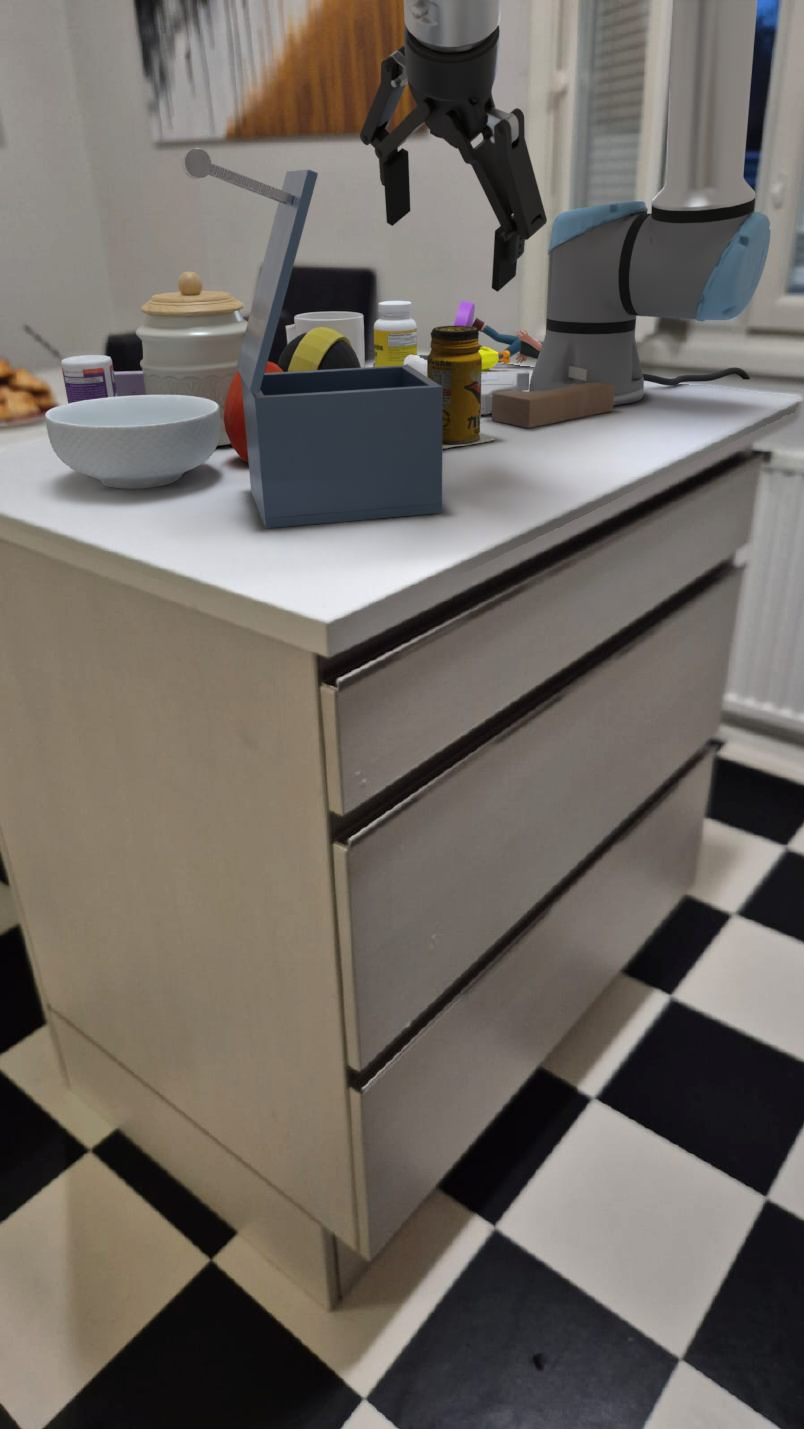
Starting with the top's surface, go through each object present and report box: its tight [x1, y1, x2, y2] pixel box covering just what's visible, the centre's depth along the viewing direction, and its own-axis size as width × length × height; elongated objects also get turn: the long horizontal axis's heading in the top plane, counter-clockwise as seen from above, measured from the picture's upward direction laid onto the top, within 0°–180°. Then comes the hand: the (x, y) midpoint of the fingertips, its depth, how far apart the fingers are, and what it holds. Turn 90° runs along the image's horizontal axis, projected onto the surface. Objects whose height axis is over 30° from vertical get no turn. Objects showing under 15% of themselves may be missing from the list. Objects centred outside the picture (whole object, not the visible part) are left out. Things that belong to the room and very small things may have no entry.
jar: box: [135, 271, 248, 447], centre depth 112 cm, size 13×13×18 cm
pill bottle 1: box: [60, 354, 118, 404], centre depth 110 cm, size 5×5×10 cm
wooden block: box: [491, 382, 615, 429], centre depth 123 cm, size 7×3×15 cm
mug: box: [284, 311, 366, 368], centre depth 130 cm, size 12×9×11 cm
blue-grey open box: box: [241, 365, 443, 530], centre depth 89 cm, size 16×12×11 cm
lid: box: [181, 147, 319, 393], centre depth 80 cm, size 17×12×9 cm
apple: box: [223, 360, 283, 464], centre depth 104 cm, size 8×8×11 cm
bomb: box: [277, 327, 361, 372], centre depth 119 cm, size 11×11×15 cm
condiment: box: [427, 325, 496, 450], centre depth 110 cm, size 7×8×12 cm
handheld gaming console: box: [480, 370, 530, 415], centre depth 130 cm, size 11×3×15 cm
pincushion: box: [404, 354, 427, 377], centre depth 131 cm, size 12×6×6 cm
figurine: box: [453, 300, 544, 364], centre depth 155 cm, size 9×9×18 cm
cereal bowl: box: [44, 395, 221, 490], centre depth 98 cm, size 17×17×7 cm
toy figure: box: [479, 346, 511, 372], centre depth 151 cm, size 7×4×12 cm
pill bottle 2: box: [373, 300, 418, 367], centre depth 142 cm, size 6×6×11 cm
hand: (450, 249), depth 97 cm, fingers open, 13 cm apart
